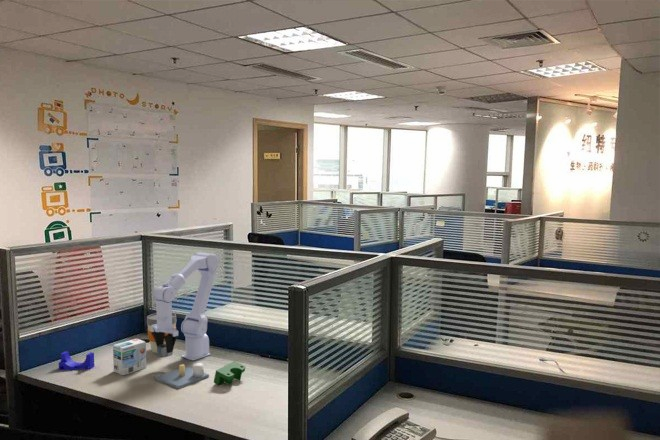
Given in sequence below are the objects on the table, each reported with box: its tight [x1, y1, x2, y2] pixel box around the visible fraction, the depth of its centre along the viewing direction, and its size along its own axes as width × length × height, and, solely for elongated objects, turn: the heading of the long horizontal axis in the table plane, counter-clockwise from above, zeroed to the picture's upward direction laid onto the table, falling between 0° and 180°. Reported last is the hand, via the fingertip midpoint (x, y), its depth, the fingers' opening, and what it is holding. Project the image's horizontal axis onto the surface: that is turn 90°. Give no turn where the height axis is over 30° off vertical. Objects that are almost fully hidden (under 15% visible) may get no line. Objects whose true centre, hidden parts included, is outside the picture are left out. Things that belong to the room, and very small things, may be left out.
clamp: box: [213, 360, 246, 386], centre depth 193 cm, size 12×6×9 cm, turn 148°
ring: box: [156, 344, 174, 358], centre depth 205 cm, size 6×6×4 cm
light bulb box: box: [112, 338, 147, 376], centre depth 204 cm, size 11×7×11 cm, turn 143°
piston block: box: [154, 362, 210, 390], centre depth 196 cm, size 14×14×5 cm
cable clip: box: [58, 351, 95, 371], centre depth 205 cm, size 12×4×6 cm, turn 85°
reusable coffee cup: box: [146, 312, 178, 354], centre depth 227 cm, size 13×13×15 cm
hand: (165, 350), depth 205 cm, fingers closed on ring, 6 cm apart
